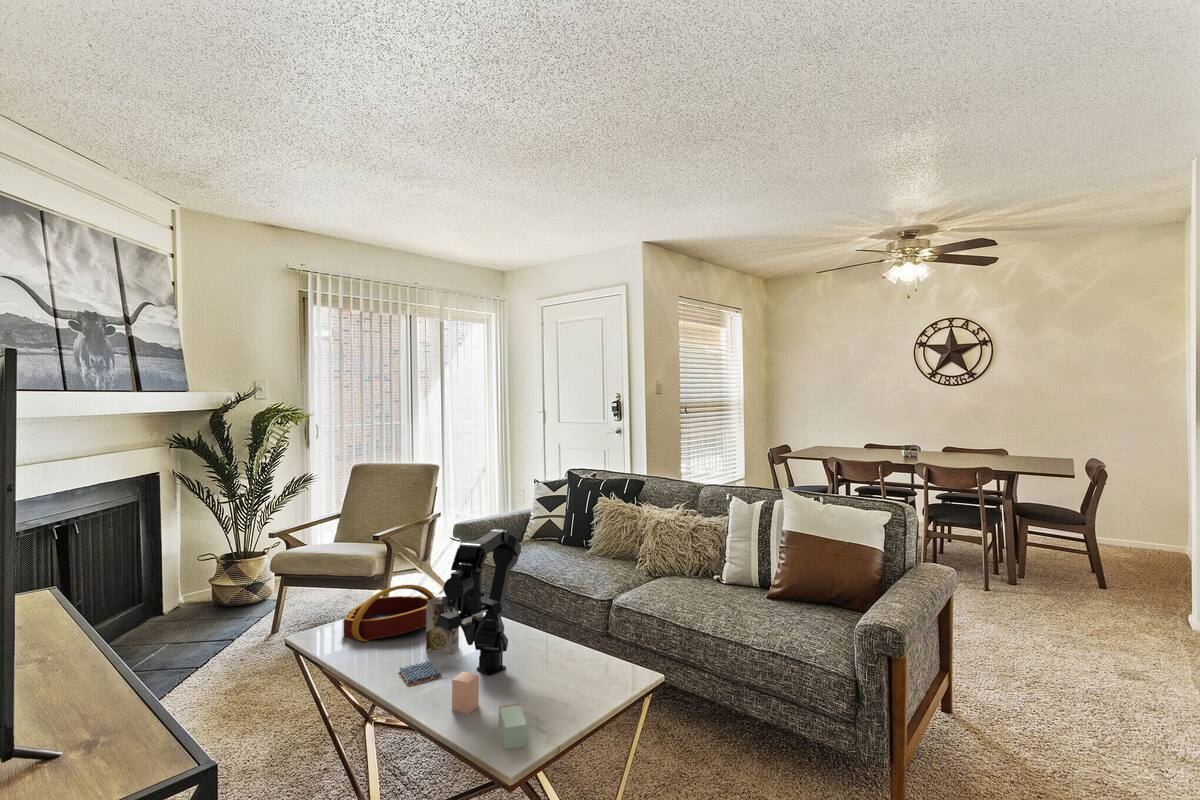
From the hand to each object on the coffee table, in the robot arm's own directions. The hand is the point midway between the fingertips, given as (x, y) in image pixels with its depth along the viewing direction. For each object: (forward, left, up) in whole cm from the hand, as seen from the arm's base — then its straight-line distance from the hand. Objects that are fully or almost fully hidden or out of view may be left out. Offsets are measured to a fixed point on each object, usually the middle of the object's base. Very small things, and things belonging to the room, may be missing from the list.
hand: (470, 644), depth 161 cm
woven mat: (+3, -19, -14) cm, 24 cm away
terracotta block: (+6, +6, -13) cm, 16 cm away
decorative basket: (-13, -58, -14) cm, 61 cm away
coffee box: (-12, -29, -13) cm, 34 cm away
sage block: (+4, +21, -11) cm, 24 cm away
